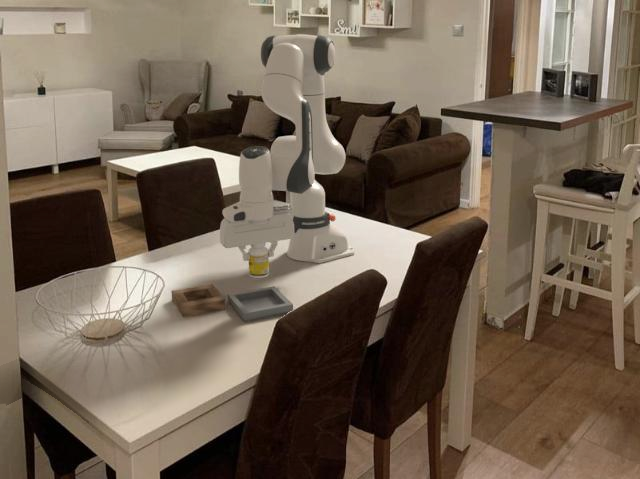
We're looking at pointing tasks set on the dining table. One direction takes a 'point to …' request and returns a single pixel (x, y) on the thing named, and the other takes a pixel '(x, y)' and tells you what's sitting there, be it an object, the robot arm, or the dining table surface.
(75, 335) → the dining table surface
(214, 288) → the walnut collar
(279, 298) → the charcoal tray
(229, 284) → the dining table surface
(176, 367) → the dining table surface
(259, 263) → the supplement bottle
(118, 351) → the dining table surface
